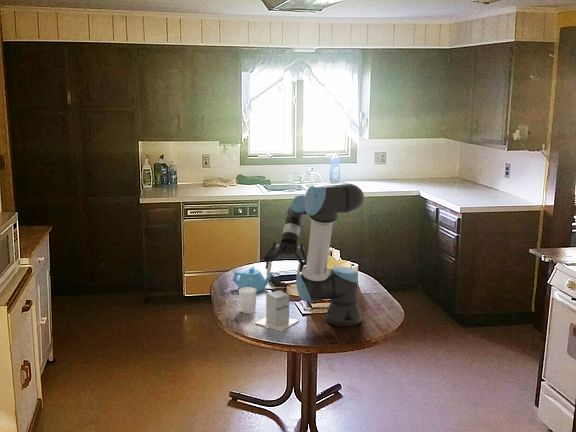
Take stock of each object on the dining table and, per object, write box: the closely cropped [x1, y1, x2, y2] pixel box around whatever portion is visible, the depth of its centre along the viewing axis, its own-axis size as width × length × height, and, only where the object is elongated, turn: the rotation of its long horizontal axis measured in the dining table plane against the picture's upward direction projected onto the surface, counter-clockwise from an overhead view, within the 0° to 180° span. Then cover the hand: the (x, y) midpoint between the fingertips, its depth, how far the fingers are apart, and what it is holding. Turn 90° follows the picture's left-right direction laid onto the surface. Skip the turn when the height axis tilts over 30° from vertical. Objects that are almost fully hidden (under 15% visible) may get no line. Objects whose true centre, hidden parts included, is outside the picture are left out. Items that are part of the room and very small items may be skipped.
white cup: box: [238, 287, 257, 314], centre depth 279 cm, size 8×8×10 cm
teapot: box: [231, 266, 273, 293], centre depth 308 cm, size 15×15×11 cm
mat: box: [254, 316, 300, 333], centre depth 266 cm, size 14×13×1 cm
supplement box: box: [265, 290, 290, 326], centre depth 265 cm, size 7×7×13 cm
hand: (282, 277), depth 272 cm, fingers open, 13 cm apart
